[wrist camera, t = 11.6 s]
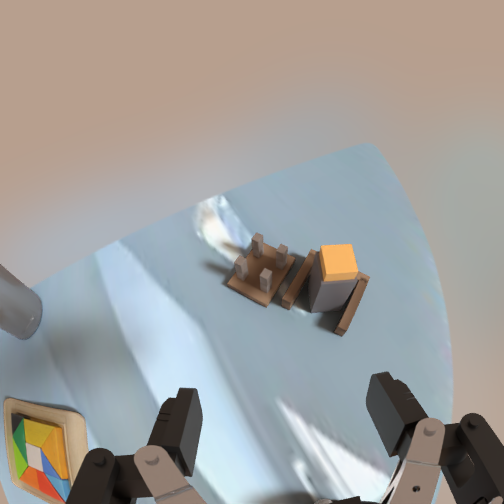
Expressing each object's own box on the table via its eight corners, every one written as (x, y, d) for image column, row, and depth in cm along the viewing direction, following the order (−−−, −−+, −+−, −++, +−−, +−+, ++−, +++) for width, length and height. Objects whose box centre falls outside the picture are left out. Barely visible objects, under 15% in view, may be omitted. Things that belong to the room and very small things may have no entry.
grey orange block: (310, 313, 35) (324, 277, 27) (307, 285, 37) (317, 243, 29) (340, 310, 35) (361, 274, 27) (335, 283, 37) (353, 241, 29)
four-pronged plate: (228, 286, 38) (222, 268, 34) (258, 244, 41) (257, 223, 37) (266, 307, 36) (266, 291, 32) (295, 261, 39) (297, 241, 35)
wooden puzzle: (10, 397, 28) (-3, 393, 25) (87, 413, 28) (73, 411, 26) (19, 486, 18) (6, 486, 15) (103, 519, 19) (90, 524, 16)
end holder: (281, 305, 36) (282, 298, 34) (309, 258, 40) (311, 248, 37) (341, 336, 33) (346, 330, 31) (364, 285, 37) (370, 276, 35)
